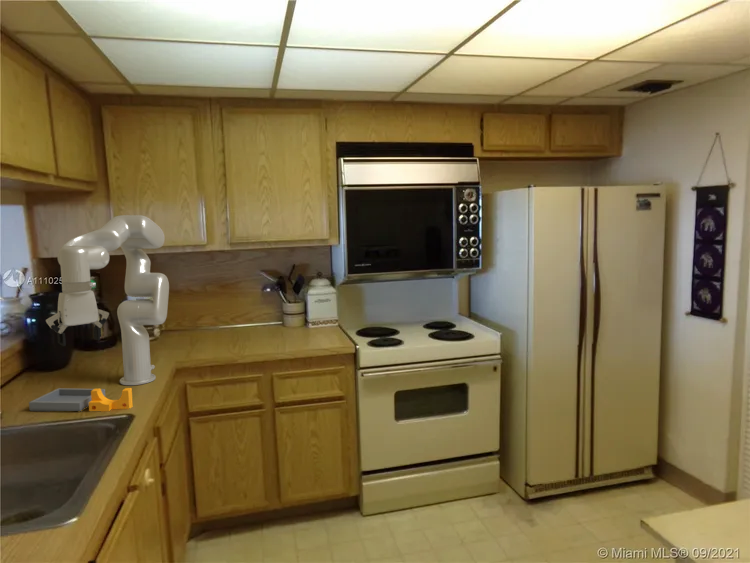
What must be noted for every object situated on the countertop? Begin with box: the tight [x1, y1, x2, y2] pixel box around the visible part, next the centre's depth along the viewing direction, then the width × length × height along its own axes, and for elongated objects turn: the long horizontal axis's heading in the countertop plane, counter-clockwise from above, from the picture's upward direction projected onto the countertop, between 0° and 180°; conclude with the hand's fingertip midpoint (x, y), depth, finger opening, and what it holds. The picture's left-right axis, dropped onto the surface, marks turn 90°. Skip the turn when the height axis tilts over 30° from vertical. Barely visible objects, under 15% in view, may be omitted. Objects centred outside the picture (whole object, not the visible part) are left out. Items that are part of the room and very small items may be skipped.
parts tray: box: [28, 387, 106, 412], centre depth 169 cm, size 14×17×3 cm
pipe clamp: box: [88, 387, 134, 412], centre depth 164 cm, size 12×4×6 cm, turn 92°
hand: (80, 342), depth 154 cm, fingers open, 9 cm apart
